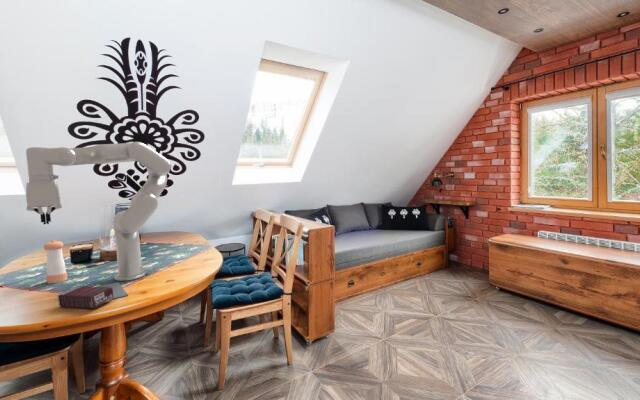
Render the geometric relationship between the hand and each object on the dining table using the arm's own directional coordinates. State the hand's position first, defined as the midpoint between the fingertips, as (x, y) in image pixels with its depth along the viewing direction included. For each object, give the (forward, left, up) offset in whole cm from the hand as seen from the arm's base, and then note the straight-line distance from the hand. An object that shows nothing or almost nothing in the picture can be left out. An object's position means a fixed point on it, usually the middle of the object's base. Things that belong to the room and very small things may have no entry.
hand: (46, 223), depth 126 cm
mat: (-15, +16, -29) cm, 36 cm away
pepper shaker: (-2, -18, -29) cm, 34 cm away
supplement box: (-4, +18, -26) cm, 32 cm away
